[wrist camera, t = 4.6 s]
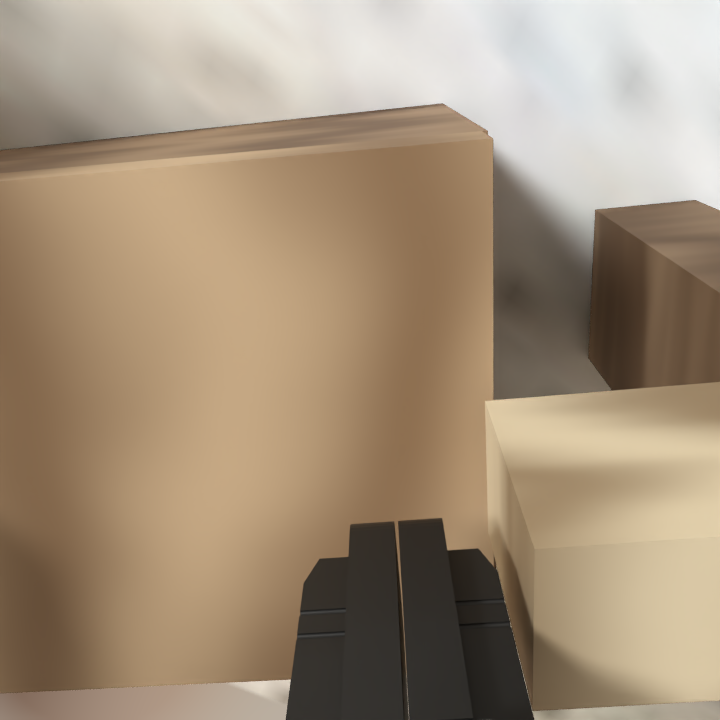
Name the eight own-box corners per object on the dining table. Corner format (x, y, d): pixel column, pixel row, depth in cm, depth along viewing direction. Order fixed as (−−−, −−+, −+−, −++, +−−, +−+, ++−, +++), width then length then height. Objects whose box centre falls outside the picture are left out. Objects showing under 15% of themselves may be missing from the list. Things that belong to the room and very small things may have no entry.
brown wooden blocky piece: (-70, 496, 25) (-600, 1020, 11) (-215, 173, 20) (-1461, 414, 6) (669, 439, 23) (1083, 965, 10) (709, 75, 19) (1650, 118, 5)
